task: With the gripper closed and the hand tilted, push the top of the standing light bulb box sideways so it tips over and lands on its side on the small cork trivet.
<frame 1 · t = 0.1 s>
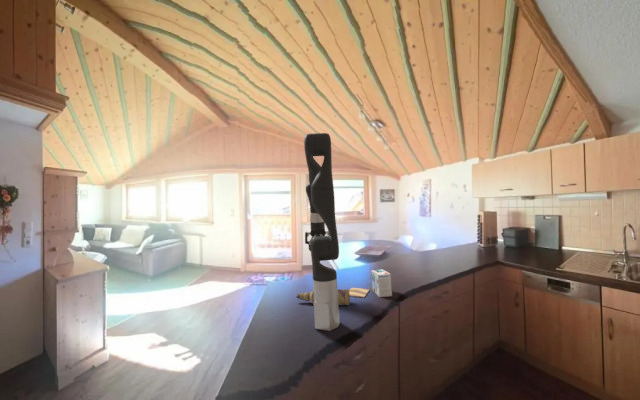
hand: (318, 250, 126), 22 cm above the counter, tool pointing down, fingers open, 8 cm apart
light bulb box: (382, 293, 120), on the counter
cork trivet: (357, 292, 122), on the counter
decorative bottle: (325, 303, 111), on the counter
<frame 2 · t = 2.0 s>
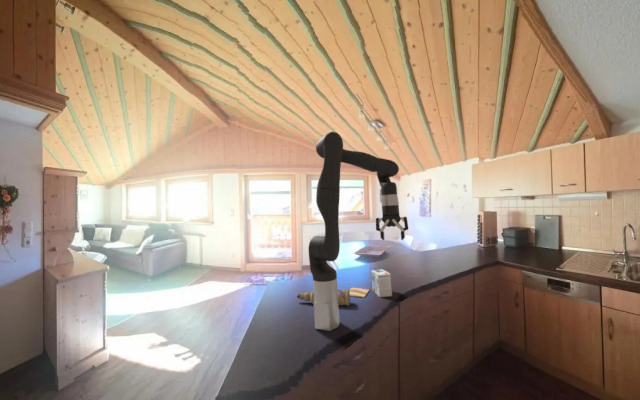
hand: (392, 239, 109), 28 cm above the counter, tool pointing down, fingers open, 8 cm apart
nothing on the counter moved.
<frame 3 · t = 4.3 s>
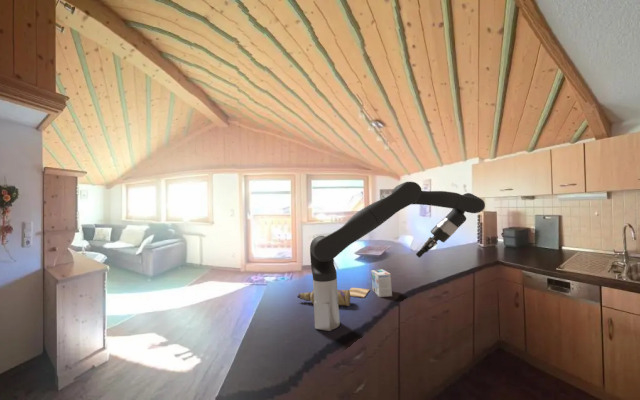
hand: (417, 255, 113), 19 cm above the counter, tool tilted 45°, fingers closed
nothing on the counter moved.
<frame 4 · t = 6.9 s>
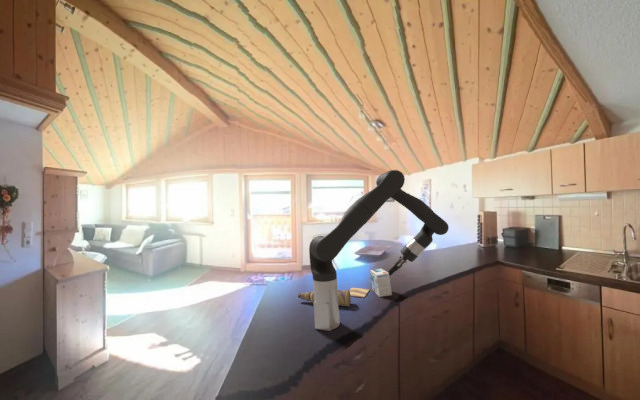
hand: (388, 274, 119), 10 cm above the counter, tool tilted 45°, fingers closed
nothing on the counter moved.
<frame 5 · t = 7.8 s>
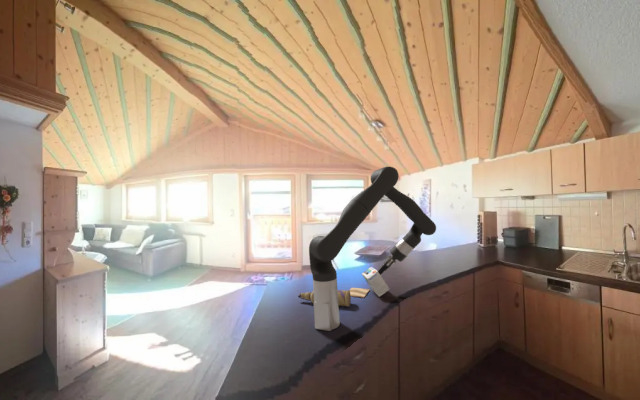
hand: (378, 273, 121), 10 cm above the counter, tool tilted 45°, fingers closed
light bulb box: (381, 290, 120), point 2 cm above the counter
everything else where it was.
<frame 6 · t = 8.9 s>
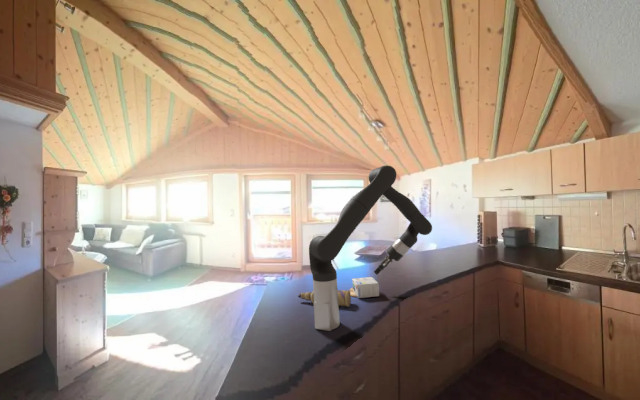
hand: (375, 273, 122), 10 cm above the counter, tool tilted 45°, fingers closed
light bulb box: (375, 286, 120), point 4 cm above the counter, touching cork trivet
everything else where it was.
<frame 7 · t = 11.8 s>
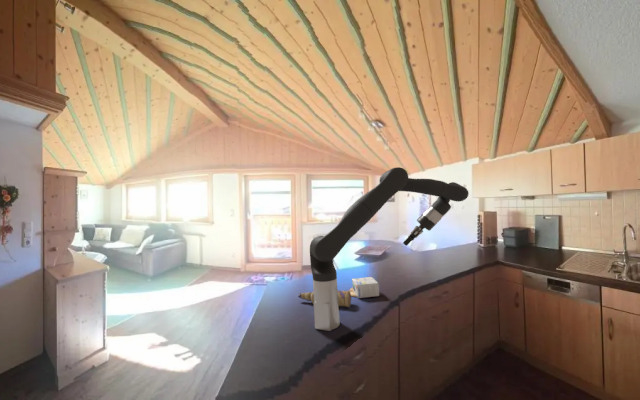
hand: (404, 244, 116), 25 cm above the counter, tool tilted 45°, fingers closed
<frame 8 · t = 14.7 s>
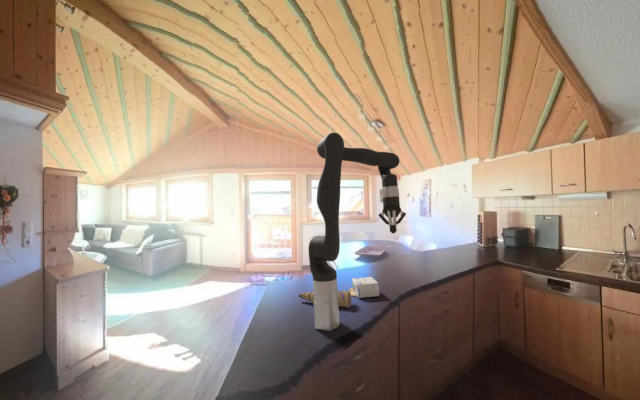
hand: (393, 233, 111), 31 cm above the counter, tool pointing down, fingers closed
at the end: light bulb box tilted 90°; light bulb box inside the target area (6.1 cm from its centre), point 3.9 cm above the counter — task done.
